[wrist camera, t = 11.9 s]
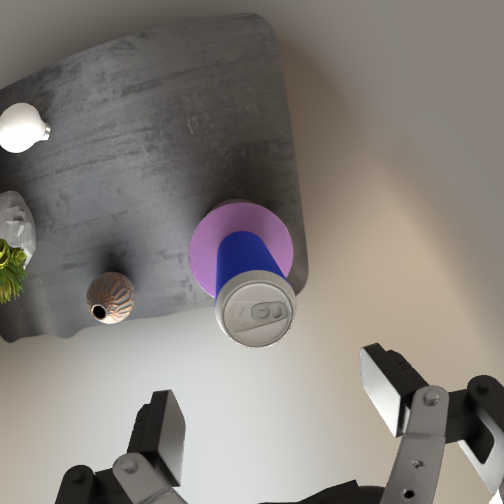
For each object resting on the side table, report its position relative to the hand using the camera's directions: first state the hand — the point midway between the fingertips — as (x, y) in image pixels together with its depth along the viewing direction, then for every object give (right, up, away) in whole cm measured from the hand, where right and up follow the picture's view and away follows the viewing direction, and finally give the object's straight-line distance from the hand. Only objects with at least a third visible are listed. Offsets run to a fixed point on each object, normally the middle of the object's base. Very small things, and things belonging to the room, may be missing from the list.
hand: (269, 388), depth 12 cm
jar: (-3, +8, +32) cm, 34 cm away
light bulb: (-32, +24, +26) cm, 47 cm away
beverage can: (-2, +5, +21) cm, 22 cm away
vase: (-21, 0, +33) cm, 39 cm away
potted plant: (-38, +7, +29) cm, 48 cm away
